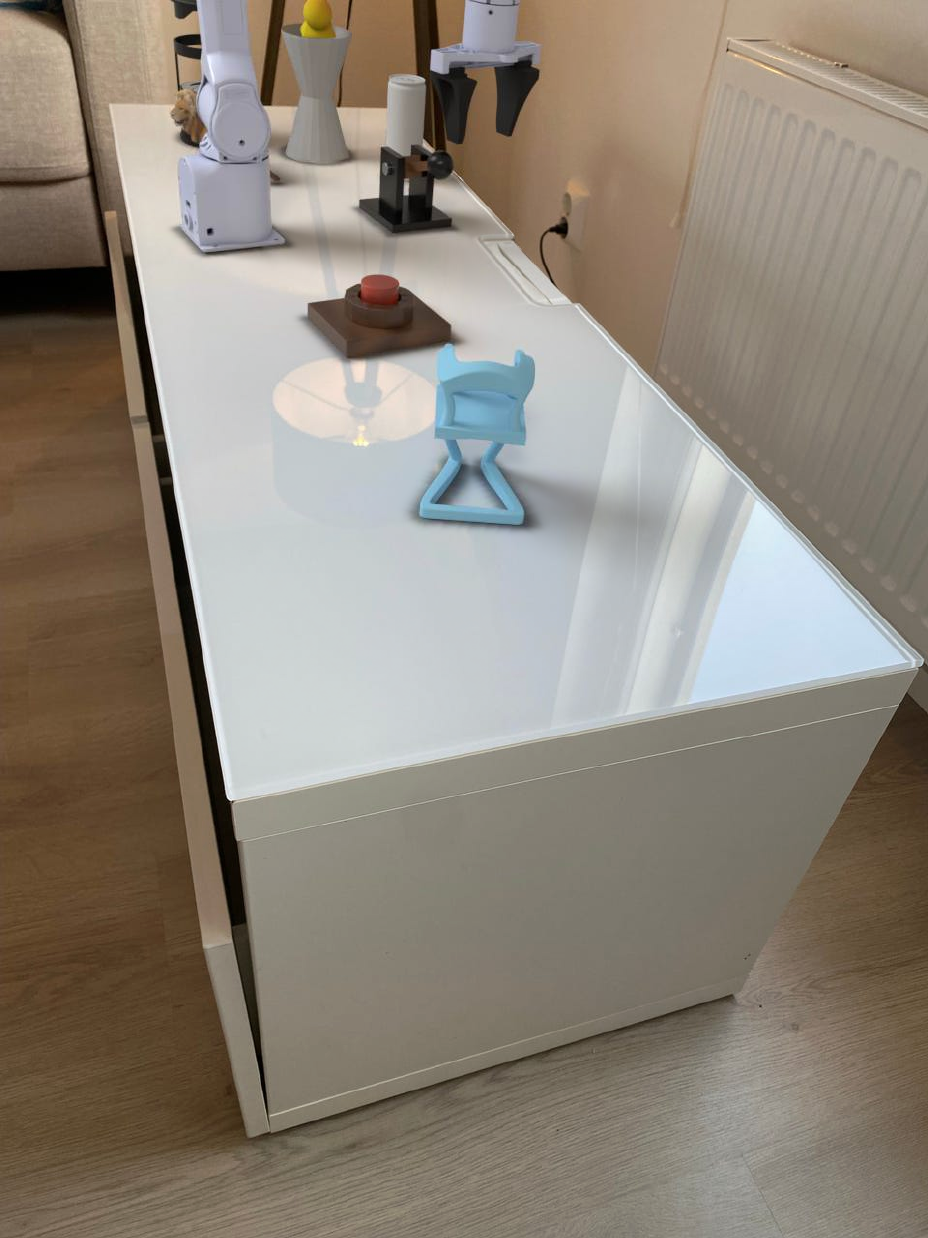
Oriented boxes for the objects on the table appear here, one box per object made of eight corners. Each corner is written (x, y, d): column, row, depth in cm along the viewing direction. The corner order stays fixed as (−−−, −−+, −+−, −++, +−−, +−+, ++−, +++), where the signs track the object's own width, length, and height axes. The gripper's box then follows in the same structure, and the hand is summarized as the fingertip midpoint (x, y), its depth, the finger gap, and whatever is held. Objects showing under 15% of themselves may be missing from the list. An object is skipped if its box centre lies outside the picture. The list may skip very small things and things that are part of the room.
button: (371, 309, 94) (371, 291, 92) (354, 294, 96) (354, 276, 95) (405, 304, 95) (406, 286, 94) (387, 289, 97) (388, 271, 96)
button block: (346, 359, 92) (347, 322, 90) (307, 319, 98) (306, 284, 96) (450, 341, 97) (453, 306, 95) (407, 304, 103) (408, 270, 100)
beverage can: (419, 185, 132) (425, 84, 124) (383, 181, 132) (386, 80, 124) (421, 174, 136) (427, 75, 128) (386, 170, 135) (389, 71, 128)
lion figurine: (168, 167, 128) (161, 90, 123) (191, 157, 132) (185, 82, 126) (271, 190, 125) (268, 112, 119) (291, 179, 129) (289, 103, 123)
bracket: (451, 228, 121) (457, 160, 116) (392, 235, 117) (395, 165, 112) (416, 203, 126) (420, 137, 121) (358, 209, 123) (360, 141, 118)
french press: (249, 151, 136) (240, -50, 121) (177, 148, 135) (159, -56, 120) (249, 127, 145) (241, -64, 130) (182, 123, 143) (166, -70, 129)
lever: (459, 178, 112) (457, 148, 110) (436, 180, 110) (433, 150, 109) (414, 180, 120) (411, 152, 119) (392, 182, 119) (389, 154, 118)
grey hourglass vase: (282, 142, 141) (274, -174, 118) (347, 145, 142) (351, -166, 120) (285, 163, 134) (277, -169, 111) (353, 165, 136) (359, -160, 113)
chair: (518, 466, 81) (539, 324, 73) (523, 526, 74) (546, 378, 67) (422, 458, 80) (433, 315, 72) (419, 518, 74) (430, 368, 66)
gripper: (466, 11, 100) (454, 155, 109) (567, 4, 108) (548, 140, 116) (421, -4, 104) (413, 137, 112) (521, -8, 111) (507, 123, 120)
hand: (479, 137), depth 115 cm, fingers open, 7 cm apart
